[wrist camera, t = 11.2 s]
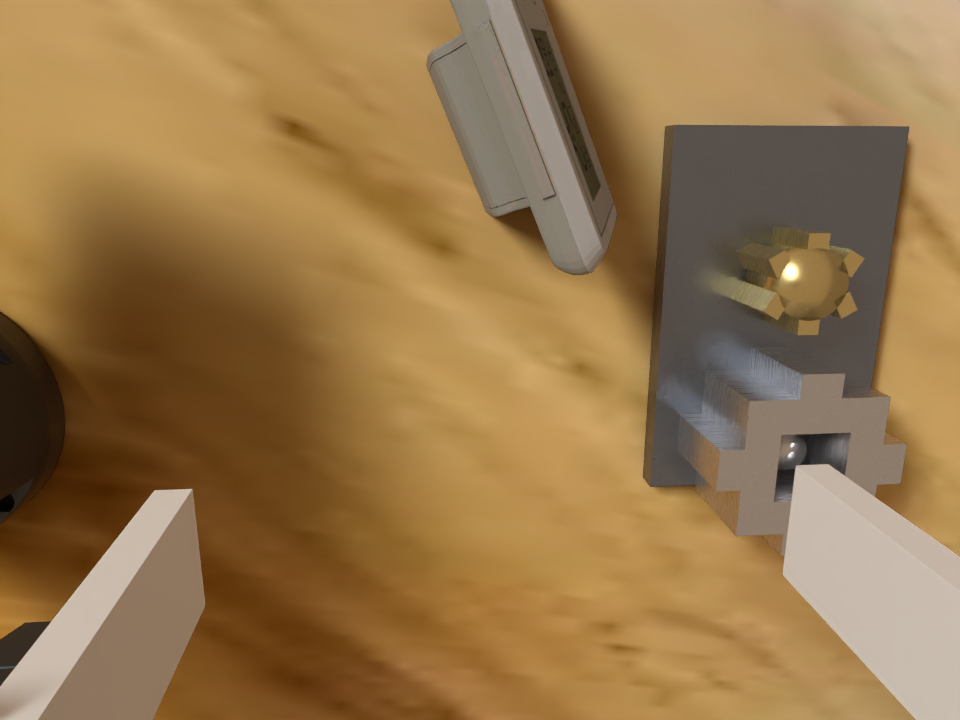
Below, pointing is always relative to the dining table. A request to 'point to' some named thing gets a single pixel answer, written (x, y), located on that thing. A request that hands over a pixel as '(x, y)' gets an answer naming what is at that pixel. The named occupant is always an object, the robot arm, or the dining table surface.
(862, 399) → the planet gear
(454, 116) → the digital clock
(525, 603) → the dining table surface
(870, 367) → the carrier
